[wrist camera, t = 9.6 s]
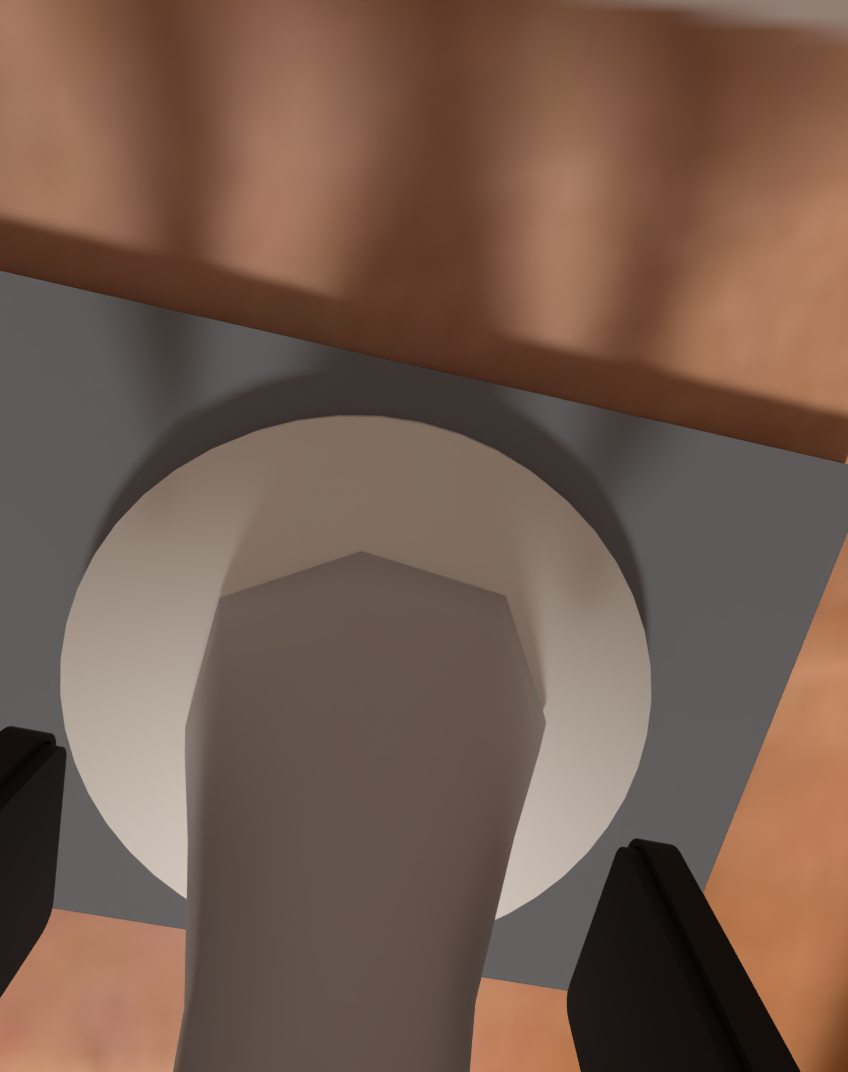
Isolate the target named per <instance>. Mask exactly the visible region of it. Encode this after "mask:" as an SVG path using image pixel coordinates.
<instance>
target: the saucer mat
mask: <svg viewBox="0 0 848 1072" xmlns="http://www.w3.org/2000/svg"><path fill="white" fill-rule="evenodd" d="M847 533H848V464H844V463H840V462H835V461H831V460H827V459H822V458H818V457H814V456H809V455H805V454H800V453H796V452H792V451H787V450H783V449H778V448H774V447H770V446H765V445H761V444H757V443H752V442H748V441H743V440H739V439H735V438H730V437H726V436H722V435H717V434H713V433H708V432H704V431H700V430H695V429H691V428H687V427H682V426H678V425H673V424H669V423H665V422H660V421H656V420H652V419H647V418H643V417H638V416H634V415H630V414H625V413H621V412H617V411H612V410H608V409H603V408H599V407H595V406H590V405H586V404H581V403H577V402H573V401H568V400H564V399H560V398H555V397H551V396H546V395H542V394H538V393H533V392H529V391H525V390H520V389H516V388H511V387H507V386H503V385H498V384H494V383H490V382H485V381H481V380H476V379H472V378H468V377H463V376H459V375H455V374H450V373H446V372H441V371H437V370H433V369H428V368H424V367H420V366H415V365H411V364H406V363H402V362H398V361H393V360H389V359H384V358H380V357H376V356H371V355H367V354H363V353H358V352H354V351H349V350H345V349H341V348H336V347H332V346H328V345H323V344H319V343H314V342H310V341H306V340H301V339H297V338H293V337H288V336H284V335H279V334H275V333H271V332H266V331H262V330H258V329H253V328H249V327H244V326H240V325H236V324H231V323H227V322H223V321H218V320H214V319H209V318H205V317H201V316H196V315H192V314H187V313H183V312H179V311H174V310H170V309H166V308H161V307H157V306H152V305H148V304H144V303H139V302H135V301H131V300H126V299H122V298H117V297H113V296H109V295H104V294H100V293H96V292H91V291H87V290H82V289H78V288H74V287H69V286H65V285H61V284H56V283H52V282H47V281H43V280H39V279H34V278H30V277H26V276H21V275H17V274H12V273H8V272H4V271H0V731H1V730H3V729H4V728H6V727H9V726H14V727H20V728H26V729H31V730H37V731H42V732H48V733H52V734H53V735H55V738H56V746H61V747H64V748H65V749H66V752H67V758H66V769H65V780H64V791H63V802H62V813H61V824H60V836H59V847H58V858H57V869H56V880H55V891H54V902H53V908H55V909H61V910H67V911H73V912H80V913H86V914H92V915H98V916H105V917H111V918H117V919H123V920H130V921H136V922H142V923H148V924H155V925H161V926H167V927H173V928H179V929H186V904H187V856H188V835H187V807H186V778H185V725H186V721H187V718H188V714H189V710H190V706H191V703H192V699H193V695H194V691H195V688H196V684H197V680H198V676H199V672H200V669H201V665H202V661H203V657H204V654H205V650H206V646H207V642H208V639H209V635H210V631H211V627H212V624H213V620H214V616H215V612H216V609H217V605H218V601H219V598H220V597H223V596H226V595H229V594H233V593H236V592H239V591H242V590H245V589H248V588H251V587H254V586H257V585H260V584H263V583H266V582H269V581H272V580H275V579H278V578H281V577H284V576H287V575H290V574H293V573H296V572H299V571H303V570H306V569H309V568H312V567H315V566H318V565H321V564H324V563H327V562H330V561H333V560H336V559H339V558H342V557H345V556H348V555H351V554H354V553H357V552H360V551H363V552H367V553H370V554H373V555H376V556H379V557H383V558H386V559H389V560H392V561H396V562H399V563H402V564H405V565H408V566H412V567H415V568H418V569H421V570H425V571H428V572H431V573H434V574H437V575H441V576H444V577H447V578H450V579H454V580H457V581H460V582H463V583H466V584H470V585H473V586H476V587H479V588H482V589H486V590H489V591H492V592H495V593H499V594H502V595H505V596H506V598H507V601H508V604H509V607H510V610H511V614H512V617H513V620H514V623H515V626H516V629H517V632H518V635H519V638H520V642H521V645H522V648H523V651H524V654H525V657H526V660H527V663H528V667H529V670H530V673H531V676H532V679H533V682H534V685H535V688H536V692H537V695H538V698H539V701H540V704H541V707H542V710H543V713H544V716H545V720H546V726H545V730H544V735H543V739H542V743H541V747H540V751H539V755H538V758H537V762H536V765H535V768H534V772H533V775H532V779H531V782H530V786H529V789H528V792H527V796H526V799H525V803H524V806H523V810H522V813H521V816H520V820H519V823H518V827H517V830H516V834H515V837H514V841H513V845H512V849H511V854H510V858H509V862H508V866H507V871H506V875H505V879H504V883H503V887H502V892H501V896H500V900H499V904H498V909H497V913H496V917H495V921H494V926H493V930H492V934H491V938H490V942H489V947H488V951H487V955H486V959H485V964H484V968H483V972H482V976H481V977H485V978H491V979H498V980H504V981H510V982H516V983H523V984H529V985H535V986H541V987H547V988H554V989H560V990H566V991H568V988H569V984H570V981H571V978H572V976H573V973H574V970H575V967H576V964H577V962H578V959H579V956H580V953H581V950H582V947H583V945H584V942H585V939H586V936H587V933H588V930H589V928H590V925H591V922H592V919H593V916H594V913H595V911H596V908H597V905H598V902H599V899H600V896H601V894H602V891H603V888H604V885H605V882H606V879H607V877H608V874H609V871H610V868H611V865H612V862H613V860H614V857H615V854H616V852H617V850H618V849H619V848H620V847H628V845H629V843H630V842H631V841H632V840H633V839H636V838H639V839H644V840H650V841H655V842H661V843H666V844H672V845H674V846H676V847H677V848H678V850H679V851H680V852H681V854H682V856H683V858H684V860H685V862H686V863H687V865H688V867H689V869H690V871H691V873H692V874H693V876H694V878H695V880H696V882H697V883H698V885H699V887H700V889H701V891H702V893H703V891H704V889H705V886H706V884H707V881H708V879H709V876H710V874H711V871H712V869H713V866H714V864H715V861H716V859H717V856H718V854H719V851H720V849H721V846H722V844H723V841H724V839H725V836H726V834H727V831H728V829H729V826H730V824H731V821H732V819H733V816H734V814H735V811H736V809H737V806H738V804H739V801H740V799H741V797H742V794H743V792H744V789H745V787H746V784H747V782H748V779H749V777H750V774H751V772H752V769H753V767H754V764H755V762H756V759H757V757H758V754H759V752H760V749H761V747H762V744H763V742H764V739H765V737H766V734H767V732H768V729H769V727H770V724H771V722H772V719H773V717H774V714H775V712H776V709H777V707H778V704H779V702H780V699H781V697H782V694H783V692H784V689H785V687H786V685H787V682H788V680H789V677H790V675H791V672H792V670H793V667H794V665H795V662H796V660H797V657H798V655H799V652H800V650H801V647H802V645H803V642H804V640H805V637H806V635H807V632H808V630H809V627H810V625H811V622H812V620H813V617H814V615H815V612H816V610H817V607H818V605H819V602H820V600H821V597H822V595H823V592H824V590H825V587H826V585H827V582H828V580H829V578H830V575H831V573H832V570H833V568H834V565H835V563H836V560H837V558H838V555H839V553H840V550H841V548H842V545H843V543H844V540H845V538H846V535H847Z"/></svg>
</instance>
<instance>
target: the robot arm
mask: <svg viewBox="0 0 848 1072" xmlns="http://www.w3.org/2000/svg"><path fill="white" fill-rule="evenodd" d="M66 758H67V752H66V749H65V748H64V747H61V746H56V738H55V735H53V734H52V733H48V732H42V731H37V730H31V729H26V728H20V727H14V726H9V727H6V728H4V729H3V730H1V731H0V997H1V996H2V994H3V993H4V991H5V990H6V988H7V987H8V985H9V984H10V982H11V981H12V979H13V978H14V976H15V974H16V973H17V971H18V970H19V968H20V967H21V965H22V964H23V962H24V961H25V959H26V958H27V956H28V955H29V953H30V951H31V950H32V948H33V947H34V945H35V944H36V942H37V941H38V939H39V938H40V936H41V934H42V933H43V931H44V929H45V927H46V925H47V923H48V920H49V917H50V915H51V911H52V908H53V902H54V891H55V880H56V869H57V858H58V847H59V836H60V824H61V813H62V802H63V791H64V780H65V769H66ZM567 1013H568V1019H569V1024H570V1028H571V1032H572V1036H573V1040H574V1045H575V1049H576V1053H577V1057H578V1061H579V1066H580V1070H581V1072H800V1070H799V1068H798V1066H797V1064H796V1062H795V1061H794V1059H793V1057H792V1055H791V1053H790V1051H789V1050H788V1048H787V1046H786V1044H785V1042H784V1040H783V1039H782V1037H781V1035H780V1033H779V1031H778V1030H777V1028H776V1026H775V1024H774V1022H773V1020H772V1019H771V1017H770V1015H769V1013H768V1011H767V1009H766V1008H765V1006H764V1004H763V1002H762V1000H761V998H760V997H759V995H758V993H757V991H756V989H755V988H754V986H753V984H752V982H751V980H750V978H749V977H748V975H747V973H746V971H745V969H744V967H743V966H742V964H741V962H740V960H739V958H738V956H737V955H736V953H735V951H734V949H733V947H732V946H731V944H730V942H729V940H728V938H727V936H726V935H725V933H724V931H723V929H722V927H721V925H720V924H719V922H718V920H717V918H716V916H715V915H714V913H713V911H712V909H711V907H710V905H709V904H708V902H707V900H706V898H705V896H704V894H703V893H702V891H701V889H700V887H699V885H698V883H697V882H696V880H695V878H694V876H693V874H692V873H691V871H690V869H689V867H688V865H687V863H686V862H685V860H684V858H683V856H682V854H681V852H680V851H679V850H678V848H677V847H676V846H674V845H672V844H666V843H661V842H655V841H650V840H644V839H639V838H636V839H633V840H632V841H631V842H630V843H629V845H628V847H620V848H619V849H618V850H617V852H616V854H615V857H614V860H613V862H612V865H611V868H610V871H609V874H608V877H607V879H606V882H605V885H604V888H603V891H602V894H601V896H600V899H599V902H598V905H597V908H596V911H595V913H594V916H593V919H592V922H591V925H590V928H589V930H588V933H587V936H586V939H585V942H584V945H583V947H582V950H581V953H580V956H579V959H578V962H577V964H576V967H575V970H574V973H573V976H572V978H571V981H570V984H569V988H568V994H567Z"/></svg>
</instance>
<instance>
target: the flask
mask: <svg viewBox="0 0 848 1072" xmlns="http://www.w3.org/2000/svg"><path fill="white" fill-rule="evenodd" d="M545 726H546V720H545V716H544V713H543V710H542V707H541V704H540V701H539V698H538V695H537V692H536V688H535V685H534V682H533V679H532V676H531V673H530V670H529V667H528V663H527V660H526V657H525V654H524V651H523V648H522V645H521V642H520V638H519V635H518V632H517V629H516V626H515V623H514V620H513V617H512V614H511V610H510V607H509V604H508V601H507V598H506V596H505V595H502V594H499V593H495V592H492V591H489V590H486V589H482V588H479V587H476V586H473V585H470V584H466V583H463V582H460V581H457V580H454V579H450V578H447V577H444V576H441V575H437V574H434V573H431V572H428V571H425V570H421V569H418V568H415V567H412V566H408V565H405V564H402V563H399V562H396V561H392V560H389V559H386V558H383V557H379V556H376V555H373V554H370V553H367V552H363V551H360V552H357V553H354V554H351V555H348V556H345V557H342V558H339V559H336V560H333V561H330V562H327V563H324V564H321V565H318V566H315V567H312V568H309V569H306V570H303V571H299V572H296V573H293V574H290V575H287V576H284V577H281V578H278V579H275V580H272V581H269V582H266V583H263V584H260V585H257V586H254V587H251V588H248V589H245V590H242V591H239V592H236V593H233V594H229V595H226V596H223V597H220V598H219V601H218V605H217V609H216V612H215V616H214V620H213V624H212V627H211V631H210V635H209V639H208V642H207V646H206V650H205V654H204V657H203V661H202V665H201V669H200V672H199V676H198V680H197V684H196V688H195V691H194V695H193V699H192V703H191V706H190V710H189V714H188V718H187V721H186V725H185V778H186V807H187V835H188V856H187V904H186V953H185V1001H184V1013H183V1018H182V1024H181V1030H180V1035H179V1041H178V1047H177V1052H176V1058H175V1064H174V1069H173V1072H470V1060H471V1048H472V1036H473V1024H474V1011H475V1002H476V997H477V993H478V989H479V985H480V981H481V976H482V972H483V968H484V964H485V959H486V955H487V951H488V947H489V942H490V938H491V934H492V930H493V926H494V921H495V917H496V913H497V909H498V904H499V900H500V896H501V892H502V887H503V883H504V879H505V875H506V871H507V866H508V862H509V858H510V854H511V849H512V845H513V841H514V837H515V834H516V830H517V827H518V823H519V820H520V816H521V813H522V810H523V806H524V803H525V799H526V796H527V792H528V789H529V786H530V782H531V779H532V775H533V772H534V768H535V765H536V762H537V758H538V755H539V751H540V747H541V743H542V739H543V735H544V730H545Z"/></svg>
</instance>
